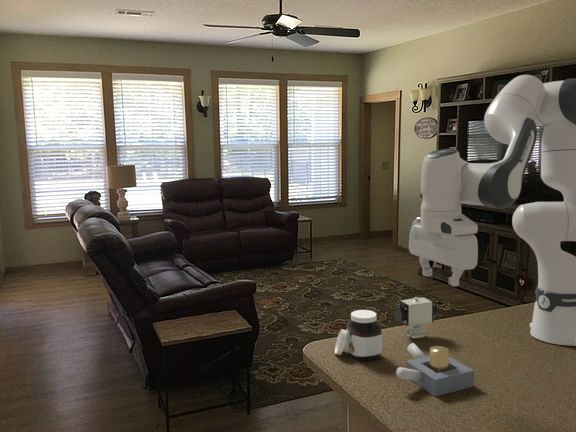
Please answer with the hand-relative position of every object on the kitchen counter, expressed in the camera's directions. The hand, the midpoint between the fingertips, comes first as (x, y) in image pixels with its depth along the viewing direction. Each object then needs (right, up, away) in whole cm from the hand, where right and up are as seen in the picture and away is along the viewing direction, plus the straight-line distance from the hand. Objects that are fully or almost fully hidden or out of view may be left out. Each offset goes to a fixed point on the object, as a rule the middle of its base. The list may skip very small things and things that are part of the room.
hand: (440, 280), depth 117 cm
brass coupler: (+1, -25, +3) cm, 25 cm away
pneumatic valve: (+2, -21, +32) cm, 38 cm away
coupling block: (-3, -24, +5) cm, 25 cm away
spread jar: (-17, -23, +20) cm, 35 cm away
